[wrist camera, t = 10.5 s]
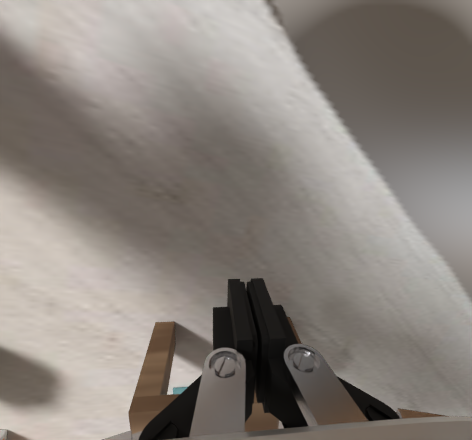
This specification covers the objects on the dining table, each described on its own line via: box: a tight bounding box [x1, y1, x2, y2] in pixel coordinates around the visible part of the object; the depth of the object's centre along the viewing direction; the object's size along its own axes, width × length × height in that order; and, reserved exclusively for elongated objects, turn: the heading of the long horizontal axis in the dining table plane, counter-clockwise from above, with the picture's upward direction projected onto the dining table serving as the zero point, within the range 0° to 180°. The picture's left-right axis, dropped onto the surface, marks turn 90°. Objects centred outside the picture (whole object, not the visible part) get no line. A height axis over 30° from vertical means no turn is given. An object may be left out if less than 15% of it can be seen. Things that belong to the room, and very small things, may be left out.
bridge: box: [129, 317, 302, 434], centre depth 24 cm, size 3×15×10 cm, turn 88°
